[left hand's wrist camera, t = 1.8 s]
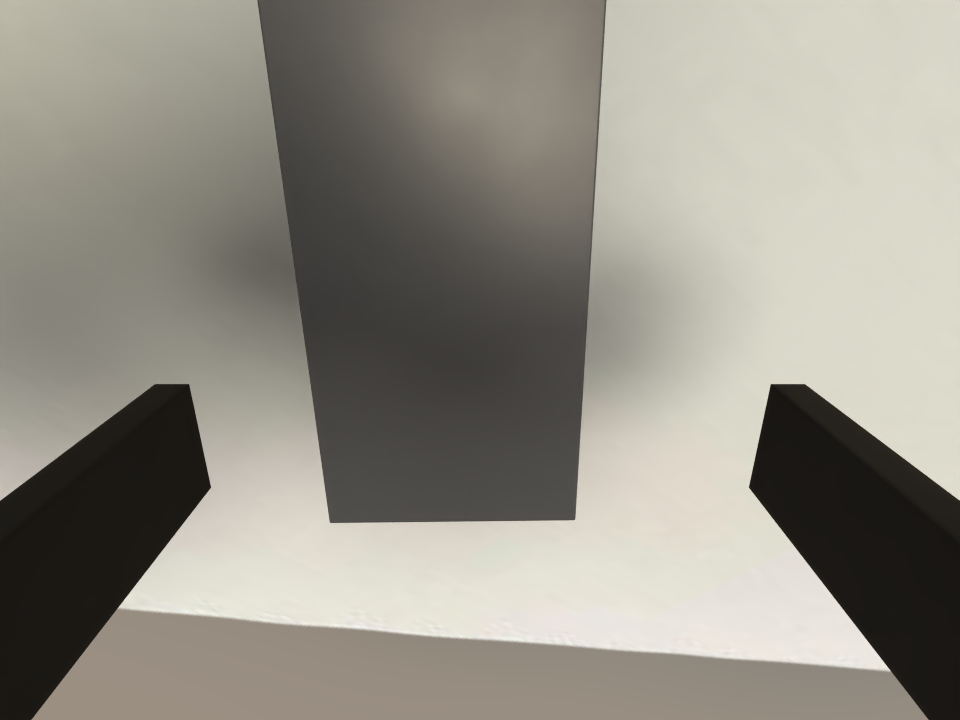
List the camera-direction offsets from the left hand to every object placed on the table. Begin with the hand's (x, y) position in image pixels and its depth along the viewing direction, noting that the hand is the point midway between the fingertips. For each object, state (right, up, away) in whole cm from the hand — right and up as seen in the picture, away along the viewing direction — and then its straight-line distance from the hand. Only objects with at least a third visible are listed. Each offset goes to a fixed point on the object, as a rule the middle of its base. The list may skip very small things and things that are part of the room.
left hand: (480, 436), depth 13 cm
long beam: (-2, +33, +2) cm, 33 cm away
